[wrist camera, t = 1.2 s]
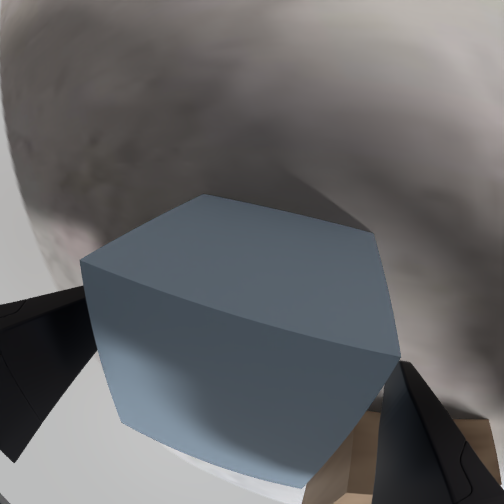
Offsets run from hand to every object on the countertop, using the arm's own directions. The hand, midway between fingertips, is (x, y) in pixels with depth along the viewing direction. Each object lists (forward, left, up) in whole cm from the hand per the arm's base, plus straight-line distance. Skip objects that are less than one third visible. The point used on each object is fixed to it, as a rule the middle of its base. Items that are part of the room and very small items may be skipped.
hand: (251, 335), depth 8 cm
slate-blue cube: (0, 0, -3) cm, 3 cm away
